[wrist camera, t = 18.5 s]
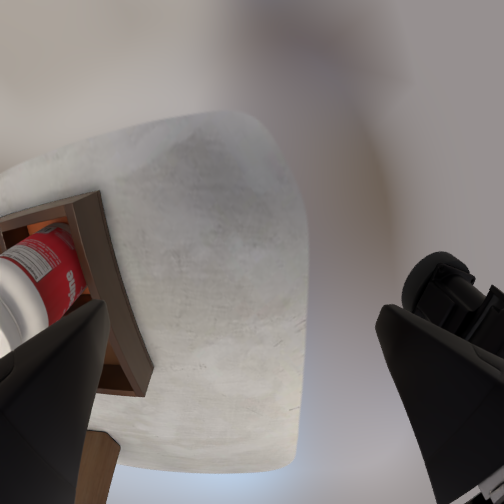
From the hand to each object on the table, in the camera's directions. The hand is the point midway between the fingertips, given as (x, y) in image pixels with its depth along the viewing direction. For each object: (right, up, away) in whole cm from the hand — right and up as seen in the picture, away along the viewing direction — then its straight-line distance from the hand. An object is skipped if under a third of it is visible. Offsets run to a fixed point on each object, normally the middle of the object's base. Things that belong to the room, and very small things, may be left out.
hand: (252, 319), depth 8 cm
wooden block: (-25, -27, +24) cm, 44 cm away
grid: (-19, -2, +14) cm, 24 cm away
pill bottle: (-15, +2, +12) cm, 19 cm away
